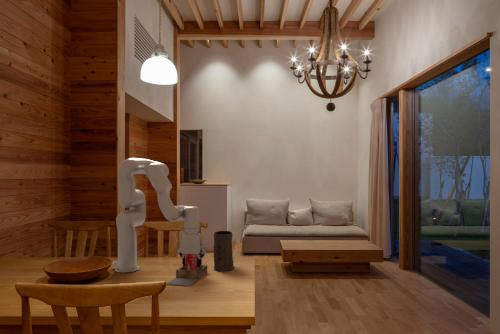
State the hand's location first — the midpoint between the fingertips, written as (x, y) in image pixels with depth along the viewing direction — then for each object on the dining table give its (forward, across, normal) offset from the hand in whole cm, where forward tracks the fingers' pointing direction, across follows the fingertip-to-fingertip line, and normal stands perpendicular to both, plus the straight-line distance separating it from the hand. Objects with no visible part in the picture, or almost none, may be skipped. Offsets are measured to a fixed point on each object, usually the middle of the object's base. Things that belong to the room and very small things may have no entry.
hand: (192, 266), depth 187 cm
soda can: (+5, 0, 0) cm, 5 cm away
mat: (+5, 0, -12) cm, 13 cm away
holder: (+5, 0, 0) cm, 5 cm away
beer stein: (+5, +12, +17) cm, 21 cm away
